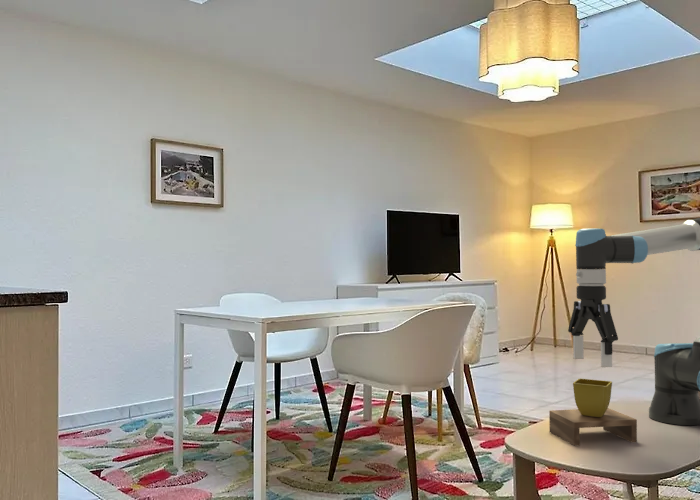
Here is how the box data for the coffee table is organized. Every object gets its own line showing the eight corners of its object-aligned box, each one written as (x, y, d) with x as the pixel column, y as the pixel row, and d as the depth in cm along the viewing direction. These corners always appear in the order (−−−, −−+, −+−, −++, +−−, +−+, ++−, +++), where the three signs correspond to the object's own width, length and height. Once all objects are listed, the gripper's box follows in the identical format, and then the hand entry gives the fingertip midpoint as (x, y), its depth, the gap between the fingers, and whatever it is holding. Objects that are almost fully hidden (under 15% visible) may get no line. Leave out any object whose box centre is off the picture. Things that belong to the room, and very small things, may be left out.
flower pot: (579, 409, 174) (579, 377, 174) (612, 413, 169) (612, 380, 169) (572, 416, 166) (572, 382, 167) (607, 420, 162) (607, 386, 162)
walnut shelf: (608, 429, 176) (607, 408, 176) (636, 442, 163) (636, 419, 163) (549, 432, 173) (549, 410, 173) (574, 445, 160) (574, 422, 160)
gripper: (555, 283, 180) (556, 356, 180) (605, 287, 156) (606, 371, 155) (578, 283, 182) (579, 355, 181) (631, 286, 157) (633, 370, 157)
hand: (592, 362), depth 168 cm, fingers open, 13 cm apart
